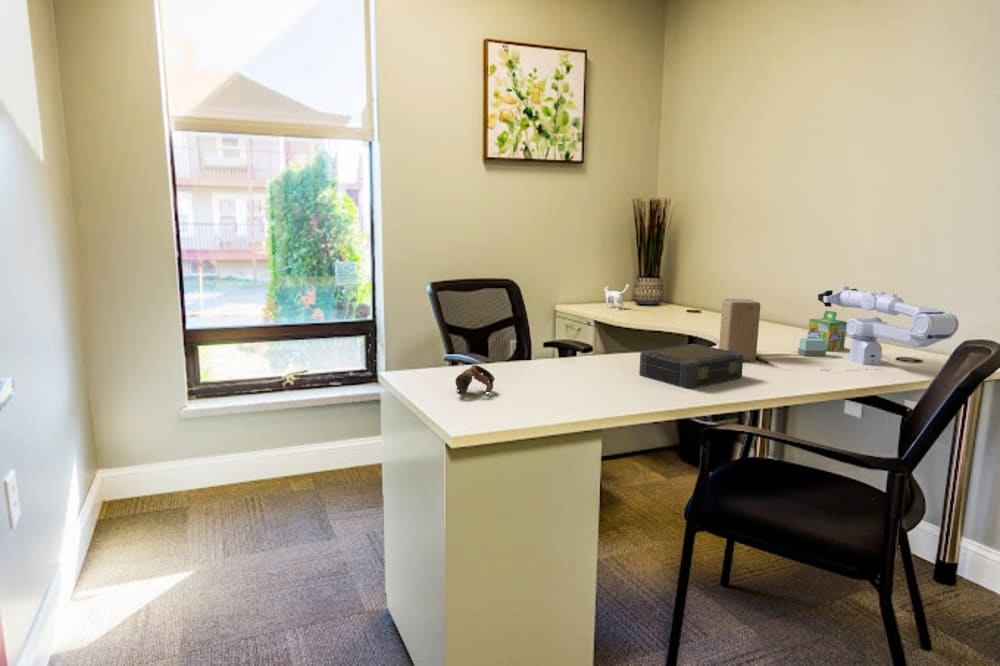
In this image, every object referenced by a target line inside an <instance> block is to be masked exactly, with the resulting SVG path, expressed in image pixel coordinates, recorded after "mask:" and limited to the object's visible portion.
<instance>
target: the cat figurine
mask: <svg viewBox="0 0 1000 666" xmlns="http://www.w3.org/2000/svg"><path fill="white" fill-rule="evenodd" d="M629 288H630V284H626V285H625V287H624V289H623V290H622V291H616V290H609V284H608V285H607V286H605V285H603V292H605V295H604V296H605V302H606V306H605V309H608V306H609V300H610V301H611V302H610V303H611V306H610V308H612V309H613V307H614V304H615V306H616V308H615V311H618V310H619V304H620V305H621V308H620V310H621V311H623V310H624V303H623V295H622V294H625V293H626V292H627V291H628V289H629ZM618 302H619V303H618Z"/></svg>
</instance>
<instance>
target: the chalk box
mask: <svg viewBox="0 0 1000 666" xmlns="http://www.w3.org/2000/svg"><path fill="white" fill-rule="evenodd" d="M837 314H838V313H837V312H836V311H833V310H825V311H824V314H823V317H822V318H810V319H809V322H808V329H807V331H808V332H807V337H806V338H820V339H823V340H826V348H825V350H826V352H834V351H835V352H836V351H844V350H845V342H846V337H847V335H846V334H847V329H846V325H847V322H848V321H845V320H841V319H840V320H839V319H836V317H837ZM828 315H831V317H828Z"/></svg>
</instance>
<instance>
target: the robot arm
mask: <svg viewBox="0 0 1000 666" xmlns="http://www.w3.org/2000/svg"><path fill="white" fill-rule="evenodd" d="M833 292H834V290H832V289H831V290H829V289H828V290H826V291H824V292H823V293H822V292H821V293H818V294H817V301H819V302H821V303H822V304H823V305H824V307H826V308H828V307H830V308H831V307H832V304H833V305H836V306H839V307H842V308H855V309H863V310H864V311H867V312H868V311H877V312H880V313H883V314H887V315H890V316H898V315H901V314H902V315H905V316H907V317H910V318H912V319H911V327H910V328H908V327H904V326H897V325H894V324H889V323H888V322H886V321H884V320H883V319H881V318H880V317H878V316H877V317H851V318H849V319H848V320H847V321H846V322H847V325H846V333H847V334H848V336H849V338H851V339H850V345H849V355H848V356H849V357H848V361H849V362H853V363H856V364H860V365H863V366H866V365H868V366H869V365H873V366H874V365H881V361H882V353H883V347H882V345H881V343H879V342H878V341H877V340H879V339H880V340H885V341H889V342H893V343H897V344H900V345H901V344H902V345H906V346H910V347H914V348H926V347H929V346H931V345H934V344H936V343H939V342H941V341H944V340H949V339H951V338H952V337H953V336H954V335H955V334H956V333H957V331H958V329H959V327H960V323H959V319H958V317H957V316H956V315H955V314H953V313H951V312H950V313H949V312H946V311H944V310H941V309H938V308H932V307H928V306H923V305H917V304H912V303H908V302H907V303H906V302H905V301H904V300H903V298H902V297H898V294H894V293H893V294H891V293H890V295H889V294H886V293H885V291H880V292H879V291H876V292H875V291H873V292H871V291H867V290H866V291H865V290H858V288H851V289H850V287H849V286H848V285H847V286H846V285H845V286H843V287H842V289H841V290H839V291H838V292H837V291H836V292H835V293H833Z"/></svg>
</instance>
